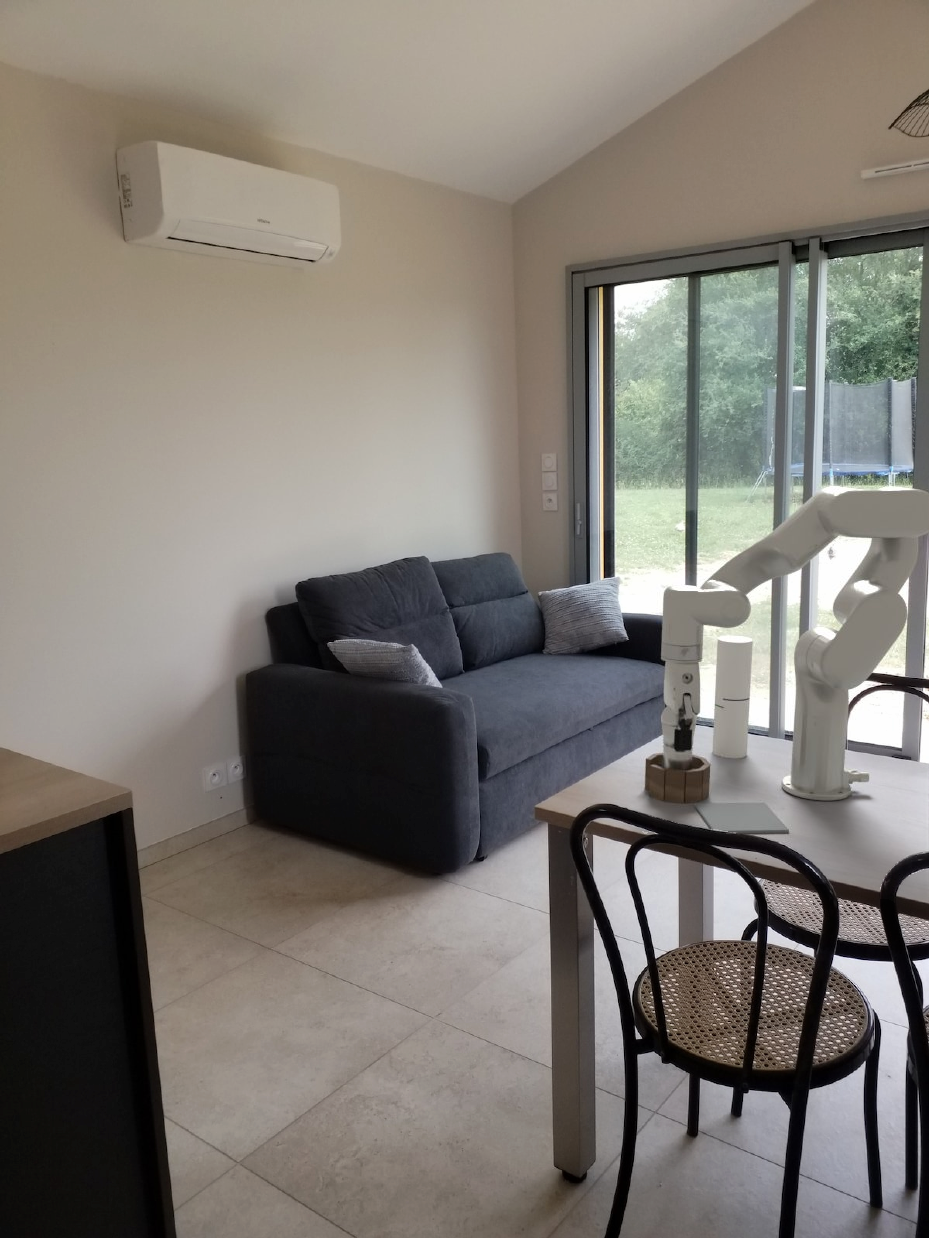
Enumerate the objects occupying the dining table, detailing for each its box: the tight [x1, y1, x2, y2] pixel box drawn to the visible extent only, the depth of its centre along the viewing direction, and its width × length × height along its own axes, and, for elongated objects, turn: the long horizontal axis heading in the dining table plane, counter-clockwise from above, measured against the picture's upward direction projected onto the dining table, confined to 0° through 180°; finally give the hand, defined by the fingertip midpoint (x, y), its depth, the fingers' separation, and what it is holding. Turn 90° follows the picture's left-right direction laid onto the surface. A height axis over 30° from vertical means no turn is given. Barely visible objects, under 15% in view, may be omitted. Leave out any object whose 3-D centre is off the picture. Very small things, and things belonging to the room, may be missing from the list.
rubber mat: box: [693, 802, 790, 834], centre depth 178 cm, size 13×13×1 cm
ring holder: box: [644, 752, 711, 804], centre depth 191 cm, size 12×12×6 cm
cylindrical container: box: [712, 635, 754, 759], centre depth 213 cm, size 7×7×25 cm
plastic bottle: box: [660, 705, 697, 771], centre depth 190 cm, size 6×7×20 cm
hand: (678, 743), depth 190 cm, fingers closed on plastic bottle, 6 cm apart
